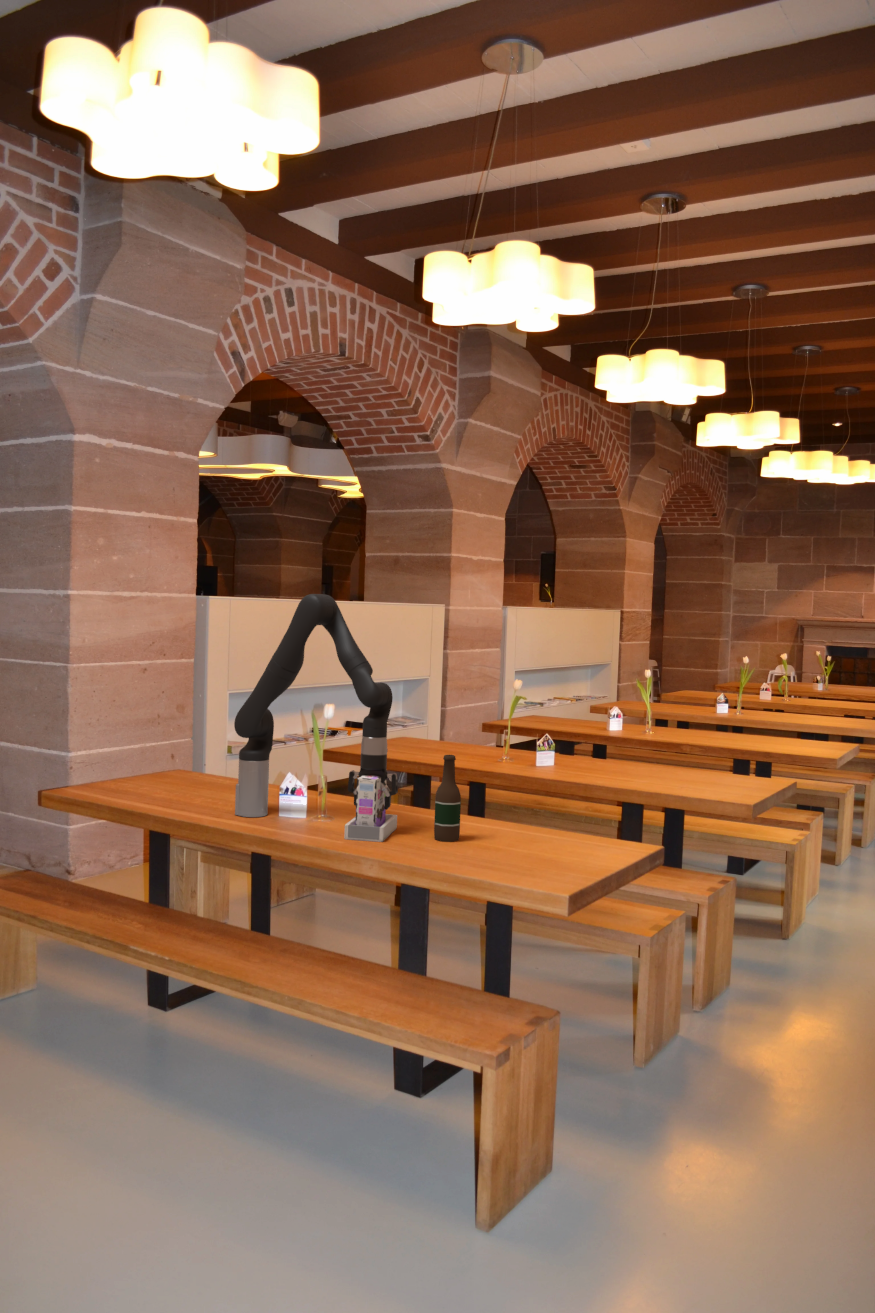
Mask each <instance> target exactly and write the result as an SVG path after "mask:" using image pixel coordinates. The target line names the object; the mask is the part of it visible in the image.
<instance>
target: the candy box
mask: <svg viewBox="0 0 875 1313" xmlns="http://www.w3.org/2000/svg"><path fill="white" fill-rule="evenodd" d="M356 779H357V780H356V788H357V796H356V805H355V817H356V823H355V825H362V826H376V827H381V826H382V825H383V824H384V823H385V814H387V812H386V811H387V810H385V797H386V795H385V793H384V792H383V791H382V790H381V788H380V786H381V777H380V776H374V775H363V776H361V777H359V776H358V777H357V778H356ZM387 779H388V778H387ZM387 779H386V780H385V783H386V784H387Z"/></svg>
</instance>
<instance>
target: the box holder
mask: <svg viewBox="0 0 875 1313" xmlns="http://www.w3.org/2000/svg"><path fill="white" fill-rule="evenodd" d="M355 823H356V816H354V817H353V818H352V819H350V821H348V822H346V823H345V825H344V836H343V837H344V838H343V839H344V840H349V841H350V840H351V841H363V842H379V843H384V842H385V840H386V839H388V838H389V836H390V835H392V833H393V832H395V831H396V830H397V827H398V814H390V813H389V814H388V813H386V814H385V823H384V824H383V825H382V826H381V827H376V826H362V825H355Z"/></svg>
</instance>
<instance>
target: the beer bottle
mask: <svg viewBox="0 0 875 1313" xmlns="http://www.w3.org/2000/svg"><path fill="white" fill-rule="evenodd" d="M456 758H457V757H456V755H453V754H444V755H443V771H442V780H441V782H440V785H439V786H438V787H437V790H436V792H435V799H434V803H435V804H434V824H433V826H434V827H433V834H434V835H433V837H434V840H435V841H439V842H442V843H443V842H446V843H453V842H457V841H459V840H460V833H461V832H460V831H461V808H462V807H461V805H462V804H461V803H462V801H461V800H462V798H461V792H460V788H459V786H458V785H457V783H456V782H457V781H456V763H455V762H456V760H457V759H456Z"/></svg>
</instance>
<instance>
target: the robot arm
mask: <svg viewBox="0 0 875 1313" xmlns="http://www.w3.org/2000/svg"><path fill="white" fill-rule="evenodd" d="M317 626H322V627H323V628H324V629H325V630H326V632H328V634H329V635H330V636H331V639H332V640H333V643H334V646H335V651H336V654H337V658H338V661H339V663H340V664H341V666H342V668H343V670H344V671H345V673H346V675H348V677H349V679H350V680H351V684H352V685H353V686H352V687H353V689H354V691H355V694H356V696H357V698H358V700H359V702H360V703H361V704H362V705H363V706H364V707H366V708H368V709H369V712H368V714H367V715H366V716H364V717H363V721H362V737H361V738H362V739H361V741H360V742H361V744H360V769H359V771H355V770H351V771H349V774H348V782H347V792H348V793H352V794H353V805H354V806H356V796H357V787H355V779H357V778H359V777H361V776H363V775H374V776H380V777H381V786H380V788H381V790H382V791H383V792H384V793H385V795H386V797H385V810H386V811H387V810H389V808H390V807H391V805H392V796H395V795H397V794H398V793H399V792H398V787H399V786H398V784H399V782H398V781H399V780H398V773H396V772H394V773H388V771H387V768H388V767H387V764H388V749H389V748H388V720H389V717H390V713H391V709H392V706H393V692H392V689H391V686H389V684H387V683H386V682H375V681H374V679H373V677H372V675H373V672H374V671H373V667H372V665H371V664H370V662H369V661H368V659H367V657H366V656H365V655H364V653H363V652H362V650H361V649H360V647H359V646H358V644H357V642H356V641H355V639H354V637H353V635H352V633H351V631H350V628H349V626H348V623H347V622H346V620H345V618H344V615H343V613H342V611H341V609H340V606H339V605H338V603H337V602H336V600H335V598H333V597H332V596H331V595H329V594H325V593H310V594H307V595H304V597H302V598H301V600H300V601H299V602H298V605H297V607H296V608H295V612H294V613H293V616H292V619H291V621H290V623H289V625H288V628H287V630H286V632H285V634H284V635H283V637H282V638H281V641H280V643H279V645H278V647H277V648H276V649H275V652H273V655H272V656H271V658H270V660H269V662H268V664H267V665H266V668H265V670H263V674H262V675H261V676H260V678H259V680H258V681H257V683H256V685H255V687H254V688H253V691H252V692H251V693H250V695H249V696H248V698H247V699H246V700H245V702H244V703H243V705H241V707H240V709H239V710H238V712H237V714H236V716H235V719H234V723H233V724H234V730H235V733H236V734H237V735H238V736H239V737H241V738H243V739H248V740H247V742H246V744H245V745H244V746H243V747H242V748H241V749H240V750H239V752H238V778H237V783H236V784H235V795H234V796H235V797H234V798H235V800H234V815H235V816H239V817H244V818H246V817H247V818H261V817H266V816H268V810H269V779H270V754H271V752H272V750H273V741H274V731H275V730H274V728H275V721H274V720H275V719H274V716H273V713H272V712H271V710H270V709H269V707H270V706H271V705H272V703H273V702H274V701H275V700H277V699H278V698H279V697H280V696H281V695H282V694H283V693H285V692H286V691H287V690H288V688H290V687H291V685H292V684H293V682H295V680H296V678H297V677H298V675H299V673H300V671H301V669H302V667H303V665H304V660H305V647H306V643H307V642H308V639H309V637H310V635H311V634H312V632H313V630H314V629H315V628H316V627H317ZM386 779H389V781H390V782H391V790H390V788H389V786H388V785H387V782H386V783H385V780H386ZM386 781H387V780H386Z"/></svg>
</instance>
